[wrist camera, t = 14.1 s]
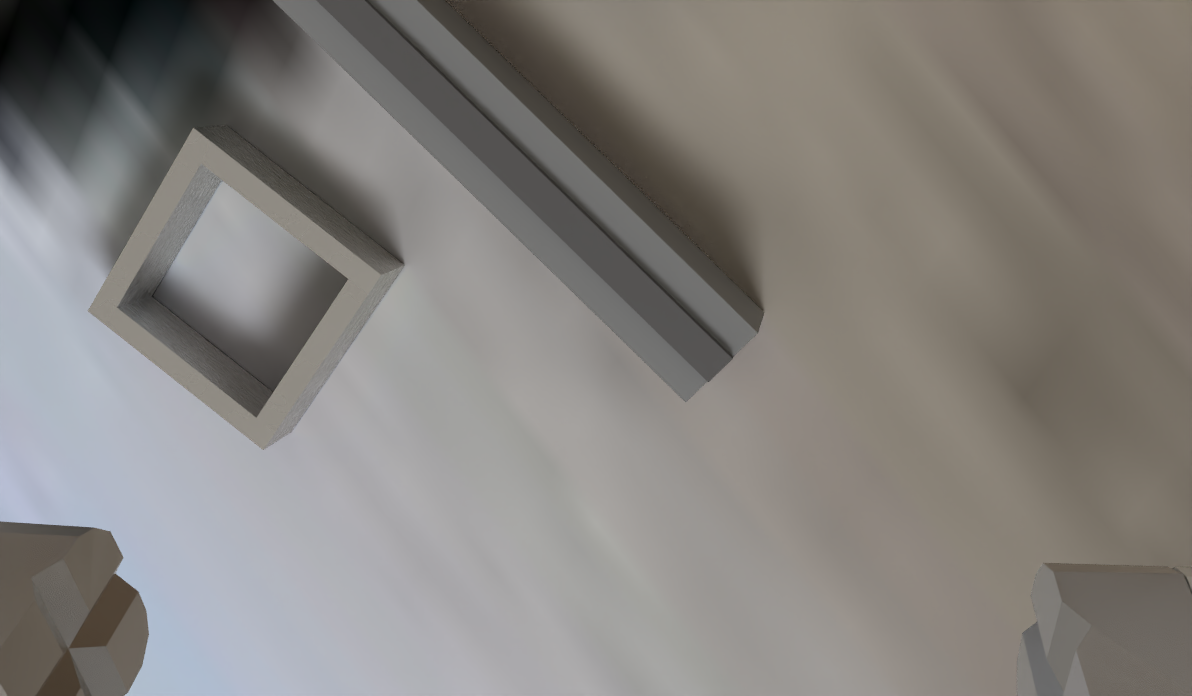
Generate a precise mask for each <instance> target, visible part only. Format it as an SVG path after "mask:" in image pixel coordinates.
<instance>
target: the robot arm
mask: <svg viewBox="0 0 1192 696" xmlns="http://www.w3.org/2000/svg"><path fill="white" fill-rule="evenodd" d="M122 559H123V556H122V554H121V552H120V550H119V548H118V546H117V544H116V542H115V540H114V538H113V536H112V534H111V532H110V531H106V530H102V529H97V528H91V527H75V526H60V525H44V524H29V523H14V522H0V696H124V695H125V694H127V693H128V691H129V689H130V688H131V686H132V684H133V682H134V680H135V678H136V676H137V674H138V672H139V671H140V669H141V667H142V664H143V659H144V654H145V650H146V645H147V640H148V635H149V631H148V622H147V613H146V609H145V606H144V604H143V602H142V599H141V597H140V594H139V592H138V591H137V590H136V589H134V588H133V587H132V586H130V585H129V584H128V583H127V582H125V581H124V580H123V579H122V578H120V577H119V576H118V575H116V574H115V573H116V571H117V569H118V567H119V565H120V563H121V561H122ZM1031 599H1032V603H1033V607H1034V611H1035V615H1036V618H1037V622H1036V623H1035V624H1034V625H1032V626H1031V627H1030V628H1028V629H1027V630H1026V631H1024V632H1023V633H1022V638H1021V643H1020V649H1019V654H1018V660H1017V696H1192V567H1174V568H1169V567H1166V566H1131V565H1096V564H1061V563H1043V564H1042V565H1041V567H1040V568H1039V570H1038V572H1037V573H1036V576H1035V580H1034V585H1033V589H1032V593H1031Z"/></svg>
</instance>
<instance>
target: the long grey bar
mask: <svg viewBox="0 0 1192 696" xmlns="http://www.w3.org/2000/svg"><path fill="white" fill-rule="evenodd" d="M273 1H274V2H275V3H276V4H277V5H278V6H279V7H280V8H281V9H282V10H283V11H284V12H285V13H286V14H287V15H288V16H289V17H291V18H292V19H293V20H294V21H295V22H296V23H297V24H298V25H299V26H300V27H301V28H302V29H303V30H304V31H305V32H306V33H307V34H308V35H309V36H310V37H311V38H312V39H313V40H314V41H315V42H316V43H317V44H318V45H319V46H320V47H321V48H322V49H323V50H324V51H325V52H326V53H327V54H329V55H330V56H331V57H332V58H333V59H334V60H335V61H336V62H337V63H338V64H339V65H340V66H341V67H342V68H343V69H344V70H345V71H346V72H347V73H348V74H349V75H350V76H351V77H352V78H353V79H354V80H355V81H356V82H357V83H358V84H359V85H360V86H361V87H362V88H363V89H364V90H365V91H367V92H368V93H369V94H370V95H371V96H372V97H373V98H374V99H375V100H376V101H377V102H378V103H379V104H380V105H381V106H382V107H383V108H384V109H385V110H386V111H387V112H388V113H389V114H390V115H391V116H392V117H393V118H394V119H395V120H396V121H397V122H398V123H399V124H400V125H401V126H402V127H404V128H405V129H406V130H407V131H408V132H409V133H410V134H411V135H412V136H413V137H414V138H415V139H416V140H417V141H418V142H419V143H420V144H421V145H422V146H423V147H424V148H425V149H426V150H427V151H428V152H429V153H430V154H431V155H432V156H433V157H434V158H435V159H436V160H437V161H438V162H439V163H440V164H442V165H443V166H444V167H445V168H446V169H447V170H448V171H449V172H450V173H451V174H452V175H453V176H454V177H455V178H456V179H457V180H458V181H459V182H460V183H461V184H462V185H463V186H464V187H465V188H466V189H467V190H468V191H469V192H470V193H471V194H472V195H473V196H474V197H475V198H476V199H477V200H478V201H480V202H481V203H482V204H483V205H484V206H485V207H486V208H487V209H488V210H489V211H490V212H491V213H492V214H493V215H494V216H495V217H496V218H497V219H498V220H499V221H500V222H501V223H502V224H503V225H504V226H505V227H506V228H507V229H508V230H509V231H510V232H511V233H512V234H513V235H514V236H515V237H516V238H518V239H519V240H520V241H521V242H522V243H523V244H524V245H525V246H526V247H527V248H528V249H529V250H530V251H531V252H532V253H533V254H534V255H535V256H536V257H537V258H538V259H539V260H540V261H541V262H542V263H543V264H544V265H545V266H546V267H547V268H548V269H549V270H550V271H551V272H552V273H553V274H554V275H556V276H557V277H558V278H559V279H560V280H561V281H562V282H563V283H564V284H565V285H566V286H567V287H568V288H569V289H570V290H571V291H572V292H573V293H574V294H575V295H576V296H577V297H578V298H579V299H580V300H581V301H582V302H583V303H584V304H585V305H586V306H587V307H588V308H589V309H590V310H591V311H593V312H594V313H595V314H596V315H597V316H598V317H599V318H600V319H601V320H602V321H603V322H604V323H605V324H606V325H607V326H608V327H609V328H610V329H611V330H612V331H613V332H614V333H615V334H616V335H617V336H618V337H619V338H620V339H621V340H622V341H623V342H624V343H625V344H626V345H627V346H628V347H629V348H631V349H632V350H633V351H634V352H635V353H636V354H637V355H638V356H639V357H640V358H641V359H642V360H643V361H644V362H645V363H646V364H647V365H648V366H649V367H650V368H651V369H652V370H653V371H654V372H655V373H656V374H657V375H658V376H659V377H660V378H661V379H662V380H663V381H664V382H665V383H666V384H667V385H669V386H670V387H671V388H672V389H673V390H674V391H675V392H676V393H677V394H678V395H679V396H680V397H681V398H682V399H683V400H684V401H685V402H687V401H688V400H689V399H690V398H691V397H692V396H693V395H694V394H695V393H696V392H697V391H698V390H699V389H700V388H701V387H702V386H703V385H704V384H705V383H706V382H709V381H710V380H711V379H712V378H713V377H714V376H715V375H716V374H717V373H718V372H719V371H720V370H722V369H723V368H724V367H725V366H726V365H727V364H728V363H729V362H730V361H731V360H732V359H733V356H734V355H735V354H737V353H738V352H739V351H740V350H741V349H742V348H743V347H744V346H745V345H746V344H747V343H748V342H749V341H750V340H751V339H752V338H753V337H754V336H755V335H756V334H757V333H758V331H759V328H760V325H761V321H762V318H763V315H764V312H763V311H762V310H761V309H760V308H759V307H758V306H757V305H756V304H755V303H754V302H753V301H752V300H751V299H750V298H749V297H748V296H747V295H746V294H745V293H744V292H743V291H742V290H741V289H740V288H739V287H738V286H737V285H736V284H735V283H734V282H733V281H732V280H731V279H730V278H729V277H728V276H727V275H726V274H725V273H723V272H722V271H721V270H720V269H719V268H718V267H717V266H716V265H715V264H714V263H713V262H712V261H711V260H710V259H709V258H708V257H707V256H706V255H705V254H704V253H703V252H702V251H701V250H700V249H699V248H698V247H697V246H696V245H695V244H694V243H693V242H692V241H691V240H690V239H689V238H688V237H687V236H686V235H685V234H684V233H682V232H681V231H680V230H679V229H678V228H677V227H676V226H675V225H674V224H673V223H672V222H671V221H670V220H669V219H668V218H667V217H666V216H665V215H664V214H663V213H662V212H661V211H660V210H659V209H658V208H657V207H656V206H655V205H654V204H653V203H652V202H651V201H650V200H649V199H648V198H647V197H646V196H645V195H644V194H643V193H642V192H640V191H639V190H638V189H637V188H636V187H635V186H634V185H633V184H632V183H631V182H630V181H629V180H628V179H627V178H626V177H625V176H624V175H623V174H622V173H621V172H620V171H619V170H618V169H617V168H616V167H615V166H614V165H613V164H612V163H611V162H610V161H609V160H608V159H607V158H606V157H605V156H604V155H603V154H602V153H601V152H600V151H598V150H597V149H596V148H595V147H594V146H593V145H592V144H591V143H590V142H589V141H588V140H587V139H586V138H585V137H584V136H583V135H582V134H581V133H580V132H579V131H578V130H577V129H576V128H575V127H574V126H573V125H572V124H571V123H570V122H569V121H568V120H567V119H566V118H565V117H564V116H563V115H562V114H561V113H560V112H559V111H557V110H556V109H555V108H554V107H553V106H552V105H551V104H550V103H549V102H548V101H547V100H546V99H545V98H544V97H543V96H542V95H541V94H540V93H539V92H538V91H537V90H536V89H535V88H534V87H533V86H532V85H531V84H530V83H529V82H528V81H527V80H526V79H525V78H524V77H523V76H522V75H521V74H520V73H519V72H518V71H517V70H515V69H514V68H513V67H512V66H511V65H510V64H509V63H508V62H507V61H506V60H505V59H504V58H503V57H502V56H501V55H500V54H499V53H498V52H497V51H496V50H495V49H494V48H493V47H492V46H491V45H490V44H489V43H488V42H487V41H486V40H485V39H484V38H483V37H482V36H481V35H480V34H479V33H478V32H477V31H476V30H475V29H473V28H472V27H471V26H470V25H469V24H468V23H467V22H466V21H465V20H464V19H463V18H462V17H461V16H460V15H459V14H458V13H457V12H456V11H455V10H454V9H453V8H452V7H451V6H450V5H449V4H448V3H447V2H446V1H445V0H273Z"/></svg>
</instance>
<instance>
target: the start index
mask: <svg viewBox="0 0 1192 696" xmlns="http://www.w3.org/2000/svg"><path fill="white" fill-rule="evenodd" d="M221 180H223V181H224V182H225V183H227V184H228V185H229V186H230V187H232V188H233V189H234V190H236V191H237V192H238V193H239V194H241V195H242V196H243V197H244V198H246V199H247V200H248V201H250V202H251V203H252V204H253V205H255V206H256V207H257V208H258V209H260V210H261V211H262V212H264V213H265V214H266V215H267V216H269V217H270V218H271V219H272V220H274V221H275V222H276V223H278V224H279V225H280V226H281V227H283V228H284V229H285V230H286V231H288V232H289V233H290V234H292V235H293V236H294V237H295V238H297V239H298V240H299V241H300V242H302V243H303V244H304V245H306V246H307V247H308V248H309V249H311V250H312V251H313V252H314V253H316V254H317V255H318V256H320V257H321V258H322V259H323V260H325V261H326V262H327V263H328V264H330V265H331V266H332V267H334V268H335V269H336V270H337V271H339V272H340V273H341V274H342V275H344V276H345V277H346V278H348V280H347V282H346V283H345V285H344V286H343V288H342V289H341V291H340V292H339V294H338V295H337V297H336V298H335V300H334V301H333V303H332V304H331V306H330V307H329V309H328V311H327V312H326V314H325V315H324V317H323V318H322V320H321V321H320V323H319V324H318V326H317V327H316V329H315V330H314V332H313V333H312V335H311V336H310V338H309V339H308V341H307V342H306V344H305V345H304V347H303V348H302V350H301V351H300V353H299V354H298V356H297V357H296V359H295V360H294V362H293V363H292V365H291V366H290V368H289V369H288V371H287V372H286V374H285V375H284V377H283V378H282V380H281V381H280V383H279V384H278V386H277V387H276V389H275V390H274V392H272V391H271V390H270V389H268V388H267V387H266V386H264V385H263V384H262V383H261V382H259V381H258V380H257V379H256V378H254V377H253V376H252V375H251V374H249V373H248V372H247V371H246V370H244V369H243V368H242V367H240V366H239V365H238V364H237V363H235V362H234V361H233V360H232V359H230V358H229V357H228V356H227V355H225V354H224V353H223V352H221V351H220V350H219V349H218V348H216V347H215V346H214V345H213V344H211V343H210V342H209V341H208V340H206V339H205V338H204V337H202V336H201V335H200V334H199V333H197V332H196V331H195V330H194V329H192V328H191V327H190V326H189V325H187V324H186V323H185V322H184V321H182V320H181V319H180V318H178V317H177V316H176V315H175V314H173V313H172V312H171V311H170V310H168V309H167V308H166V307H165V306H163V305H162V304H161V303H159V302H158V301H157V300H156V299H154V298H153V297H152V295H153V294H154V292H155V290H156V289H157V287H158V285H159V284H160V282H161V280H162V279H163V277H164V275H165V274H166V272H167V270H168V269H169V267H170V265H171V264H172V262H173V260H174V259H175V257H176V255H177V254H178V252H179V250H180V248H181V247H182V245H183V243H184V242H185V240H186V238H187V237H188V235H189V233H190V232H191V230H192V228H193V227H194V225H195V223H196V222H197V220H198V218H199V217H200V215H201V213H202V212H203V210H204V208H205V207H206V205H207V203H208V202H209V200H210V198H211V196H212V195H213V193H214V191H215V190H216V188H217V186H218V185H219V183H220V181H221ZM403 267H404V264H403V263H401V262H400V261H399V260H397V259H396V258H395V257H394V256H392V255H391V254H390V253H389V252H387V251H386V250H385V249H383V248H382V247H381V246H380V245H378V244H377V243H376V242H375V241H373V240H372V239H371V238H369V237H368V236H367V235H366V234H364V233H363V232H362V231H360V230H359V229H358V228H357V227H355V226H354V225H353V224H352V223H350V222H349V221H348V220H346V219H345V218H344V217H343V216H341V215H340V214H339V213H338V212H336V211H335V210H334V209H332V208H331V207H330V206H329V205H327V204H326V203H325V202H324V201H322V200H321V199H320V198H318V197H317V196H316V195H315V194H313V193H312V192H311V191H309V190H308V189H307V188H306V187H304V186H303V185H302V184H301V183H299V182H298V181H297V180H295V179H294V178H293V177H292V176H290V175H289V174H288V173H287V172H285V171H284V170H283V169H281V168H280V167H279V166H278V165H276V164H275V163H274V162H272V161H271V160H270V159H269V158H267V157H266V156H265V155H264V154H262V153H261V152H260V151H258V150H257V149H256V148H255V147H253V146H252V145H251V144H250V143H248V142H247V141H246V140H244V139H243V138H242V137H241V136H239V135H238V134H237V133H235V132H234V131H233V130H232V129H230V128H229V127H228V126H227V125H225V126H211V127H197V128H193V129H192V131H191V133H190V134H189V136H188V138H187V140H186V141H185V143H184V145H183V147H182V148H181V150H180V152H179V154H178V155H177V157H176V159H175V161H174V162H173V164H172V166H171V167H170V169H169V171H168V173H167V174H166V176H165V178H164V180H163V181H162V183H161V185H160V187H159V188H158V190H157V192H156V194H155V195H154V197H153V199H152V200H151V202H150V204H149V206H148V207H147V209H146V211H145V213H144V214H143V216H142V218H141V220H140V221H139V223H138V225H137V227H136V228H135V230H134V232H133V233H132V235H131V237H130V239H129V240H128V242H127V244H126V246H125V247H124V249H123V251H122V253H121V254H120V256H119V258H118V260H117V261H116V263H115V265H114V266H113V268H112V270H111V272H110V273H109V275H108V277H107V279H106V280H105V282H104V284H103V286H102V287H101V289H100V291H99V293H98V294H97V296H96V298H95V299H94V301H93V303H92V305H91V306H90V308H89V310H88V312H90V313H91V314H92V315H93V316H95V317H96V318H97V319H99V320H100V321H101V322H102V323H104V324H105V325H106V326H107V327H109V328H110V329H111V330H112V331H114V332H115V333H116V334H117V335H119V336H120V337H121V338H123V339H124V340H125V341H126V342H128V343H129V344H130V345H131V346H133V347H134V348H135V349H136V350H138V351H139V352H140V353H141V354H143V355H144V356H145V357H147V358H148V359H149V360H150V361H152V362H153V363H154V364H155V365H157V366H158V367H159V368H160V369H162V370H163V371H164V372H165V373H167V374H168V375H169V376H171V377H172V378H173V379H174V380H176V381H177V382H178V383H179V384H181V385H182V386H183V387H184V388H186V389H187V390H188V391H189V392H191V393H192V394H193V395H195V396H196V397H197V398H198V399H200V400H201V401H202V402H203V403H205V404H206V405H207V406H208V407H210V408H211V409H212V410H213V411H215V412H216V413H217V414H219V415H220V416H221V417H222V418H224V419H225V420H226V421H227V422H229V423H230V424H231V425H232V426H234V427H235V428H236V429H237V430H239V431H240V432H241V433H243V434H244V435H245V436H246V437H248V438H249V439H250V440H251V441H253V442H254V443H255V444H256V445H258V446H259V447H260V448H261V449H263V450H264V449H266V448H267V447H269V446H270V445H272V444H274V443H275V442H277V441H278V440H280V439H281V438H283V437H284V436H286V435H288V434H289V433H291V432H292V430H293V429H294V427H295V426H296V424H297V423H298V421H299V420H300V418H301V417H302V416H303V414H304V413H305V411H306V410H307V408H308V407H309V405H310V404H311V402H312V401H313V399H314V398H315V396H316V395H317V393H318V392H319V390H320V389H321V388H322V386H323V385H324V383H325V382H326V380H327V379H328V377H329V376H330V374H331V373H332V371H333V370H334V368H335V367H336V365H337V364H338V363H339V361H340V360H341V358H342V357H343V355H344V354H345V352H346V351H347V349H348V348H349V346H350V345H351V343H352V342H353V340H354V339H355V337H356V336H357V335H358V333H359V332H360V330H361V329H362V327H363V326H364V324H365V323H366V321H367V320H368V318H369V317H370V315H371V314H372V312H373V311H374V310H375V308H376V307H377V305H378V304H379V302H380V301H381V299H382V298H383V296H384V295H385V293H386V292H387V290H388V289H389V287H390V286H391V284H392V283H393V282H394V280H395V279H396V277H397V276H398V274H399V273H400V271H401V270H402V268H403Z"/></svg>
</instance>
